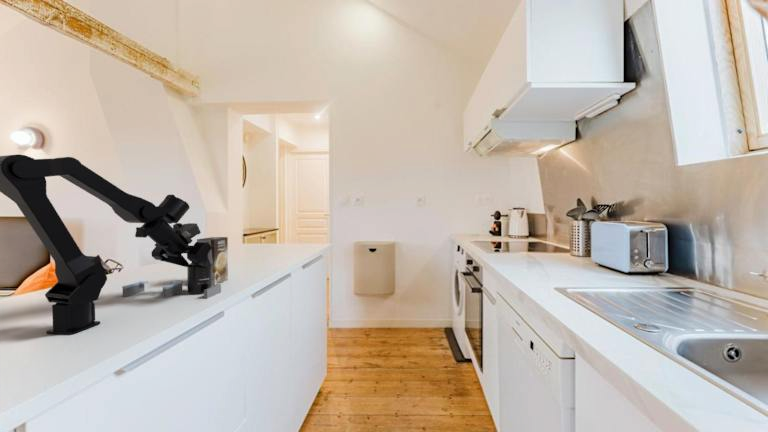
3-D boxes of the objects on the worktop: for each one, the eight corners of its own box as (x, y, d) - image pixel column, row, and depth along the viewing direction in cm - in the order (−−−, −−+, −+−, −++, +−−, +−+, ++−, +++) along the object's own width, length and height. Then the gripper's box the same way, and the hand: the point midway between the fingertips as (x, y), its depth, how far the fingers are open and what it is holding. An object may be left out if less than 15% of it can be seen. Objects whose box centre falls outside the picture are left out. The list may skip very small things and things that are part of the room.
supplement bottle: (204, 294, 101) (203, 256, 100) (182, 294, 101) (181, 256, 101) (216, 289, 108) (215, 252, 107) (196, 289, 108) (195, 252, 107)
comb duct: (207, 298, 97) (207, 288, 97) (122, 296, 99) (122, 286, 99) (221, 292, 104) (220, 282, 104) (141, 290, 106) (141, 281, 106)
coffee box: (215, 285, 112) (214, 239, 112) (196, 285, 112) (195, 239, 112) (228, 279, 121) (228, 236, 121) (212, 279, 122) (211, 236, 121)
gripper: (206, 214, 95) (235, 247, 106) (159, 214, 101) (191, 245, 112) (182, 245, 88) (216, 276, 99) (134, 242, 94) (171, 273, 105)
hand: (198, 266), depth 104 cm, fingers open, 9 cm apart
